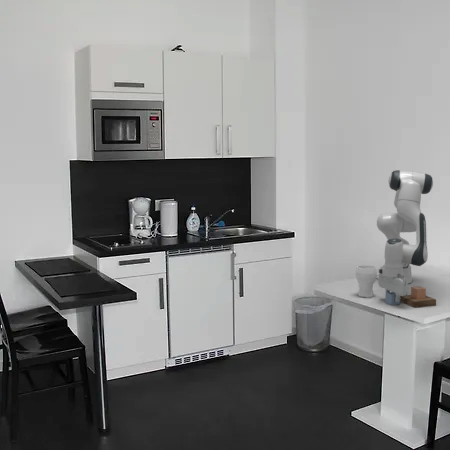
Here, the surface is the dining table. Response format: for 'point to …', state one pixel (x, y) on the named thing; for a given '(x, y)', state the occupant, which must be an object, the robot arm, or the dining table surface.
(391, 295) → the blue block
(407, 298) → the pedestal
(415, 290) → the terracotta block
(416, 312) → the dining table surface
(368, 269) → the cup
